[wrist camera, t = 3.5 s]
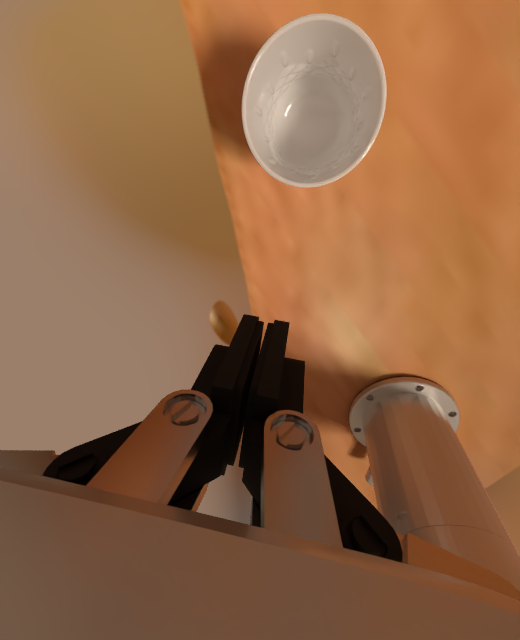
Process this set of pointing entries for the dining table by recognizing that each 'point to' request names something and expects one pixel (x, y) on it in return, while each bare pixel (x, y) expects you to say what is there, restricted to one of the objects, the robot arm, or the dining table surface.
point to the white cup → (314, 100)
